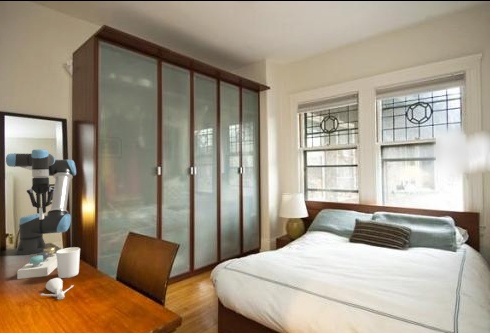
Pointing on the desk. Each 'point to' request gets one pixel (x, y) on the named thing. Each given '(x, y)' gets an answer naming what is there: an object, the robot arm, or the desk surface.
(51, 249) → the knob
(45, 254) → the knob mid
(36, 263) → the knob
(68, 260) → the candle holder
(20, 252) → the robot arm
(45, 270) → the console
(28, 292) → the desk surface
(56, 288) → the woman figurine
